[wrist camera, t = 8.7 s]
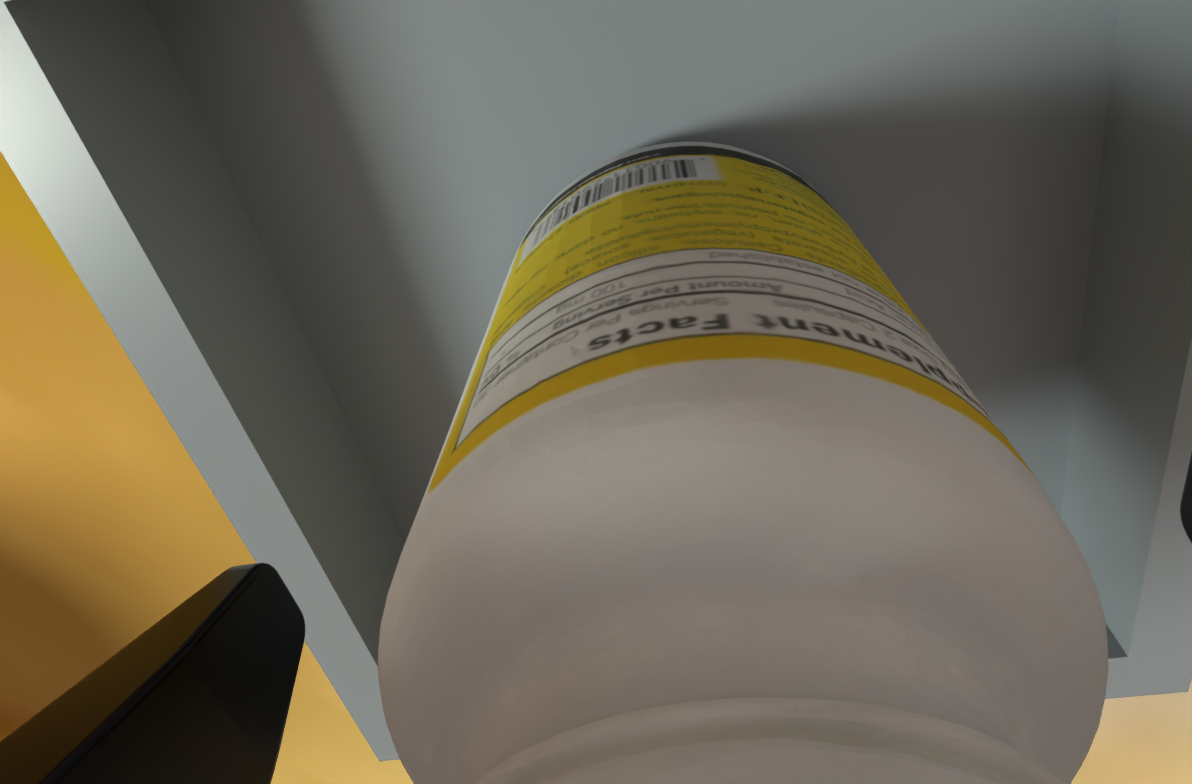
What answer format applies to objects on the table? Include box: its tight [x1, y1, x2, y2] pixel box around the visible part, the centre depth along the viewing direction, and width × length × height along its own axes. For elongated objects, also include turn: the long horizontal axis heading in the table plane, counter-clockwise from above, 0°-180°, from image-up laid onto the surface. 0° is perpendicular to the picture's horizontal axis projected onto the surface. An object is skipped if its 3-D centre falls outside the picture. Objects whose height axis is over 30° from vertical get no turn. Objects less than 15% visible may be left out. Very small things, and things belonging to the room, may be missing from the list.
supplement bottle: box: [378, 141, 1109, 784], centre depth 7 cm, size 5×5×10 cm
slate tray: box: [0, 0, 1192, 761], centre depth 11 cm, size 14×14×3 cm
